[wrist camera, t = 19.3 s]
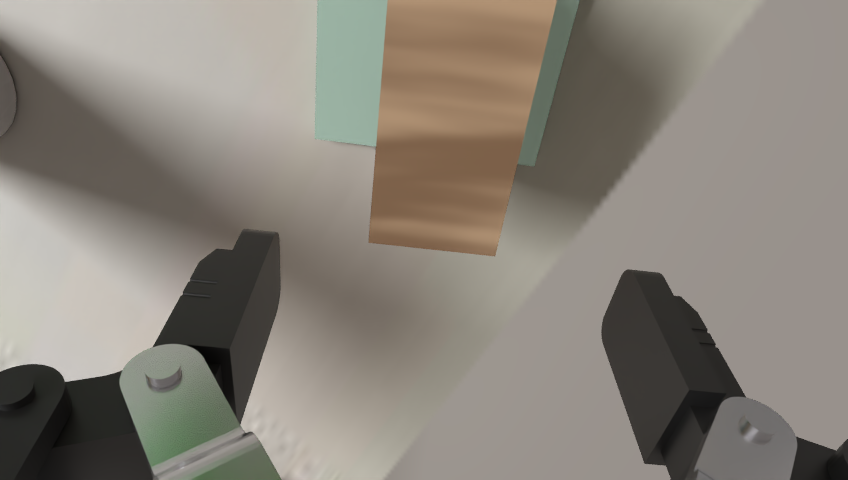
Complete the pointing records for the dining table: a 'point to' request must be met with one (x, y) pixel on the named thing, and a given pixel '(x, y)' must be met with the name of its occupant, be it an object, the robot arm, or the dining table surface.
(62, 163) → the dining table surface
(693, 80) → the dining table surface
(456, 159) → the stool
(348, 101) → the mat
